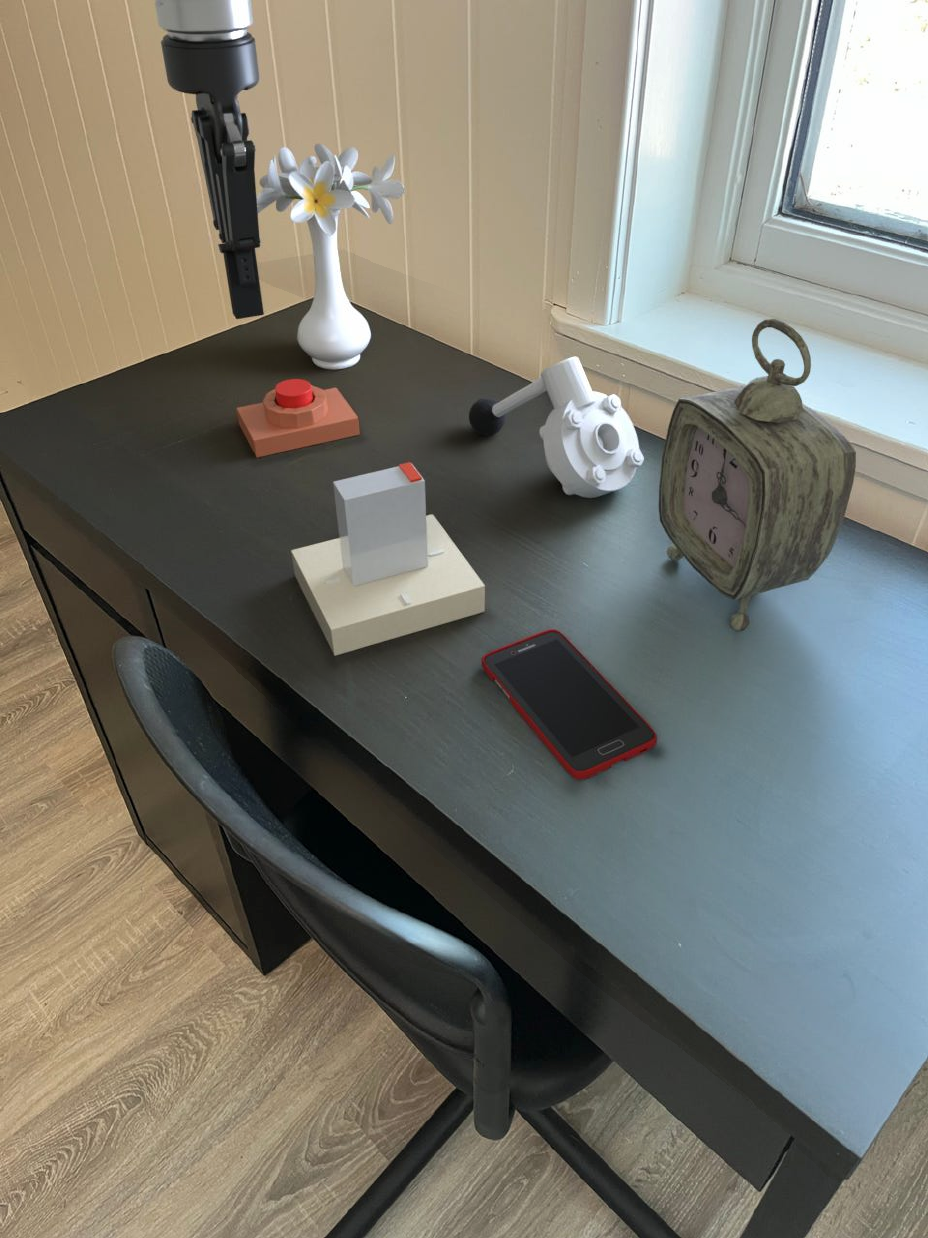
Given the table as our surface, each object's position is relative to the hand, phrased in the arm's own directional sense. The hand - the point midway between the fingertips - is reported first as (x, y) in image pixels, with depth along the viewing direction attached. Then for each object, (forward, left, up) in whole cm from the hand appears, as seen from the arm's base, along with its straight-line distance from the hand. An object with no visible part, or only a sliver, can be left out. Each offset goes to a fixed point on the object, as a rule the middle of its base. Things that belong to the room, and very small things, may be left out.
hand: (248, 313), depth 92 cm
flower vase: (+15, +22, -17) cm, 31 cm away
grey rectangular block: (+4, -26, -14) cm, 30 cm away
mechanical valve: (+27, -12, -17) cm, 34 cm away
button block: (+5, +6, -17) cm, 19 cm away
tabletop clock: (+33, -38, -17) cm, 53 cm away
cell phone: (+12, -45, -17) cm, 50 cm away
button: (+5, +6, -13) cm, 15 cm away
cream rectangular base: (+4, -26, -17) cm, 31 cm away
